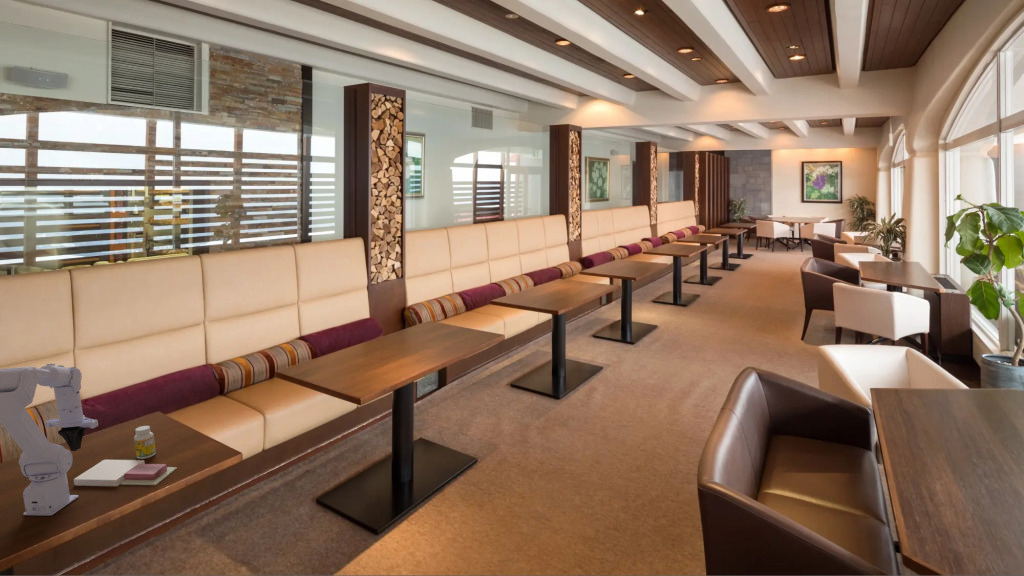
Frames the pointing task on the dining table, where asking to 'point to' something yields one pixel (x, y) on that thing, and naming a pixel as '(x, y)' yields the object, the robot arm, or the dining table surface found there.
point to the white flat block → (106, 473)
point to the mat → (149, 482)
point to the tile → (145, 472)
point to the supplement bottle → (144, 442)
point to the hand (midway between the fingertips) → (75, 449)
